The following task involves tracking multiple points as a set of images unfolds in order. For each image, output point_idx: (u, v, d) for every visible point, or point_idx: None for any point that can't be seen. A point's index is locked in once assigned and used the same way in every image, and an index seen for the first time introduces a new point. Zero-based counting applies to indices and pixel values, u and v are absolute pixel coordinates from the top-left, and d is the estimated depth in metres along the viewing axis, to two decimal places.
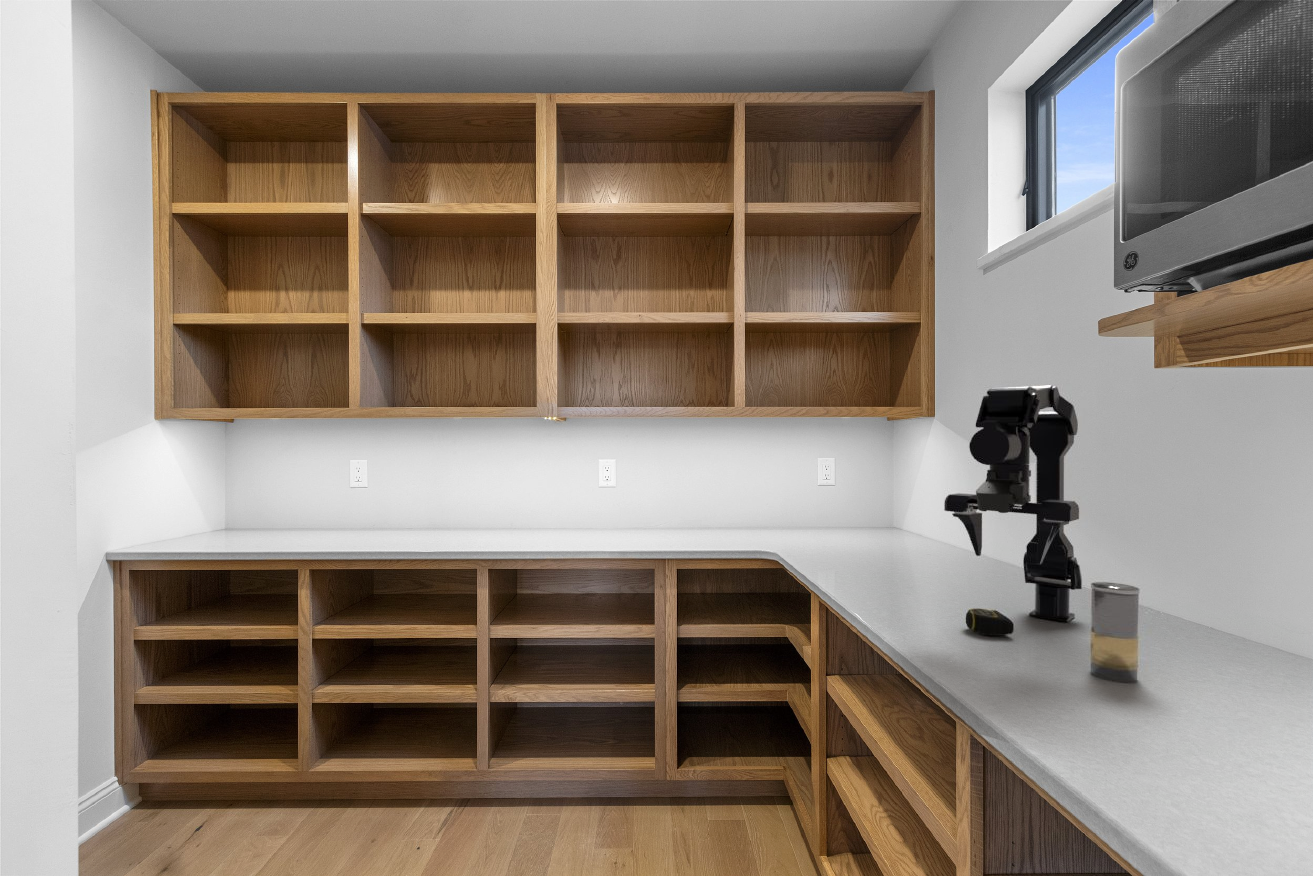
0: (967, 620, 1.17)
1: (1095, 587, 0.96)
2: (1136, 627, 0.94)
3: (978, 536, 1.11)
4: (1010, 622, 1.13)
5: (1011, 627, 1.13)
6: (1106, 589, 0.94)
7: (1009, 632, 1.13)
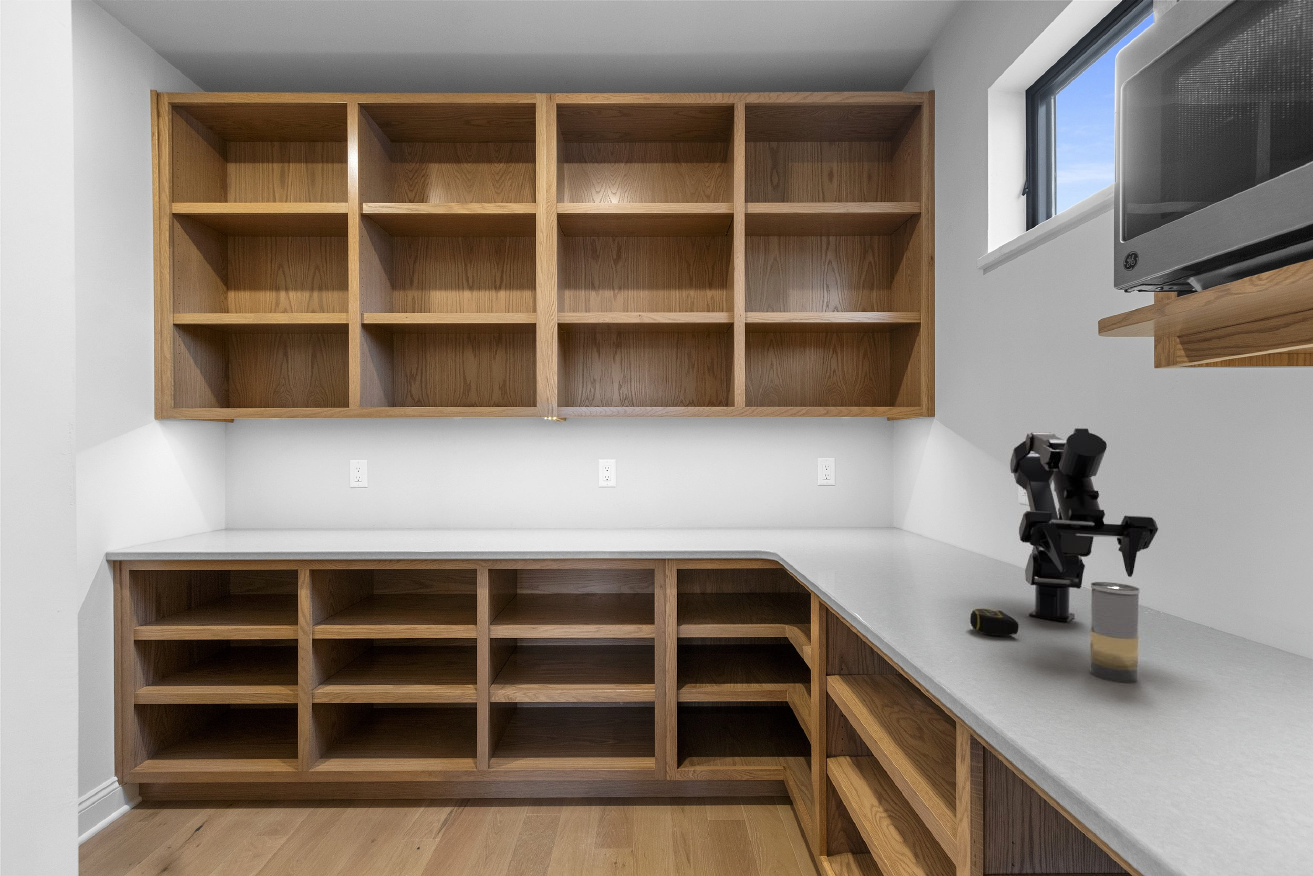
0: (972, 620, 1.17)
1: (1095, 587, 0.96)
2: (1136, 627, 0.94)
3: (1125, 558, 1.04)
4: (1015, 622, 1.13)
5: (1016, 627, 1.13)
6: (1106, 589, 0.94)
7: (1014, 632, 1.13)
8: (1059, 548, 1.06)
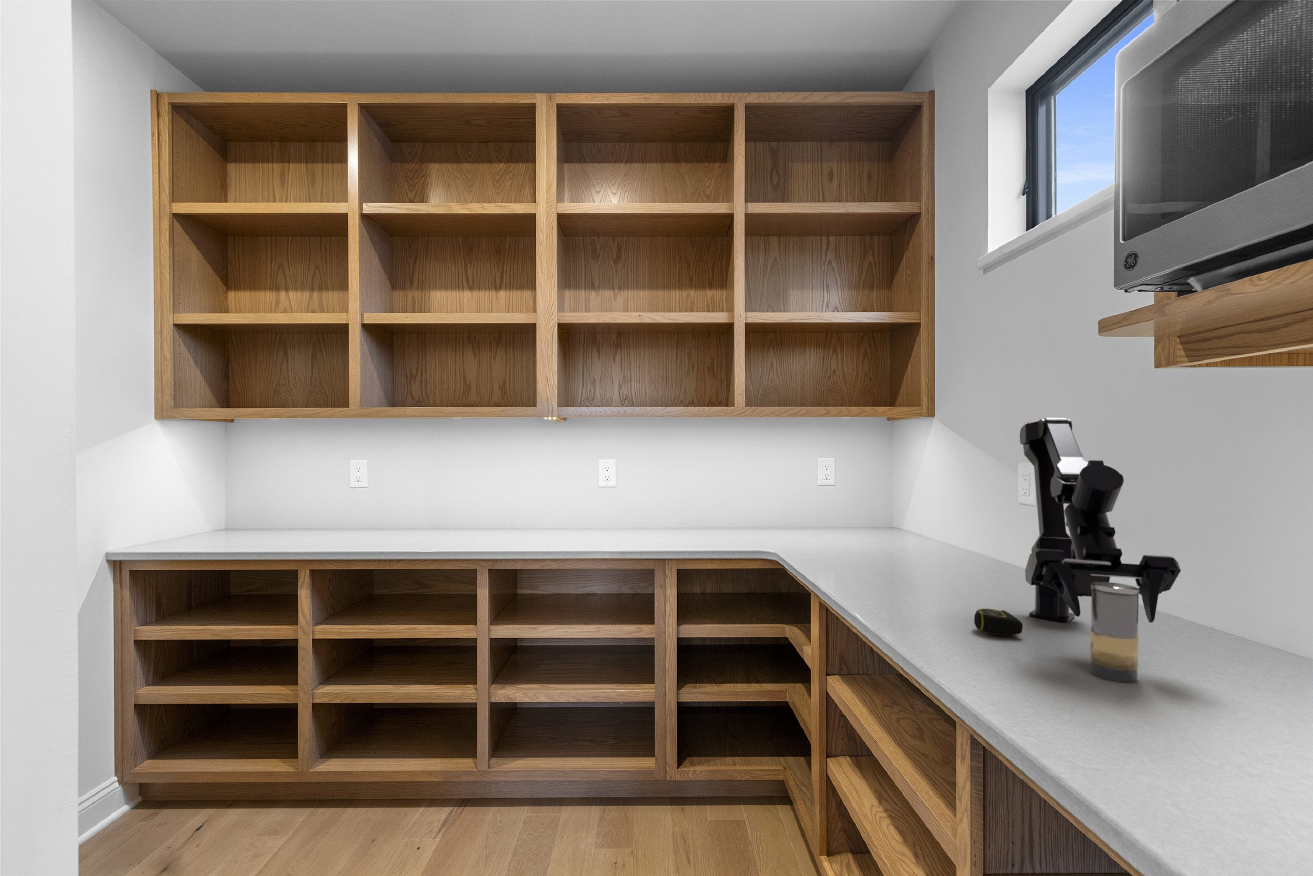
0: (976, 620, 1.17)
1: (1095, 587, 0.96)
2: (1136, 627, 0.94)
3: (1146, 601, 0.97)
4: (1019, 622, 1.13)
5: (1020, 627, 1.13)
6: (1106, 589, 0.94)
7: (1018, 632, 1.13)
8: (1073, 590, 0.98)
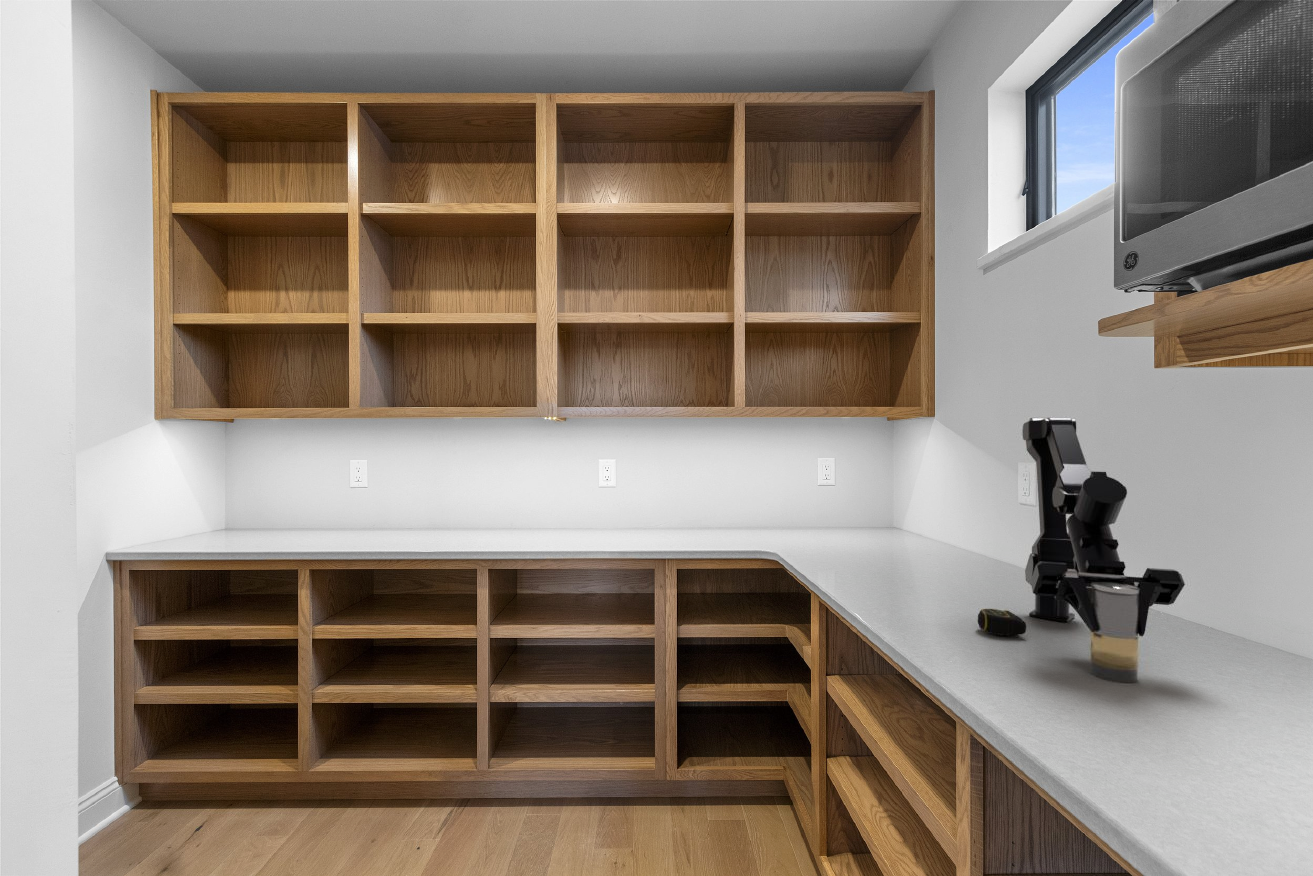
0: (979, 620, 1.17)
1: (1095, 587, 0.96)
2: (1136, 627, 0.94)
3: None
4: (1023, 622, 1.13)
5: (1024, 627, 1.13)
6: (1106, 589, 0.94)
7: (1022, 632, 1.13)
8: (1088, 605, 0.97)
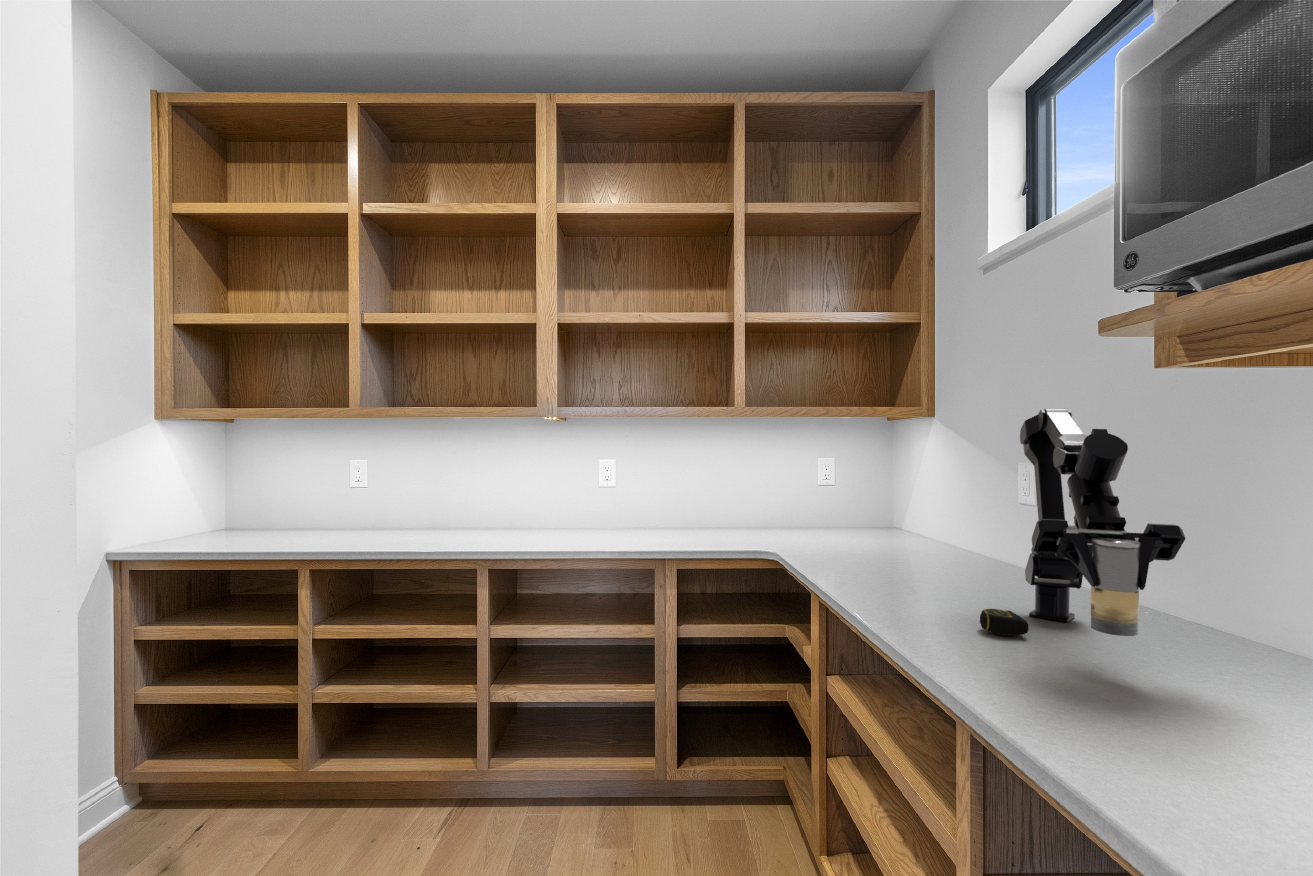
0: (981, 620, 1.17)
1: (1096, 542, 0.96)
2: (1137, 581, 0.94)
3: None
4: (1025, 622, 1.13)
5: (1026, 627, 1.13)
6: (1107, 543, 0.94)
7: (1024, 632, 1.13)
8: (1089, 560, 0.97)
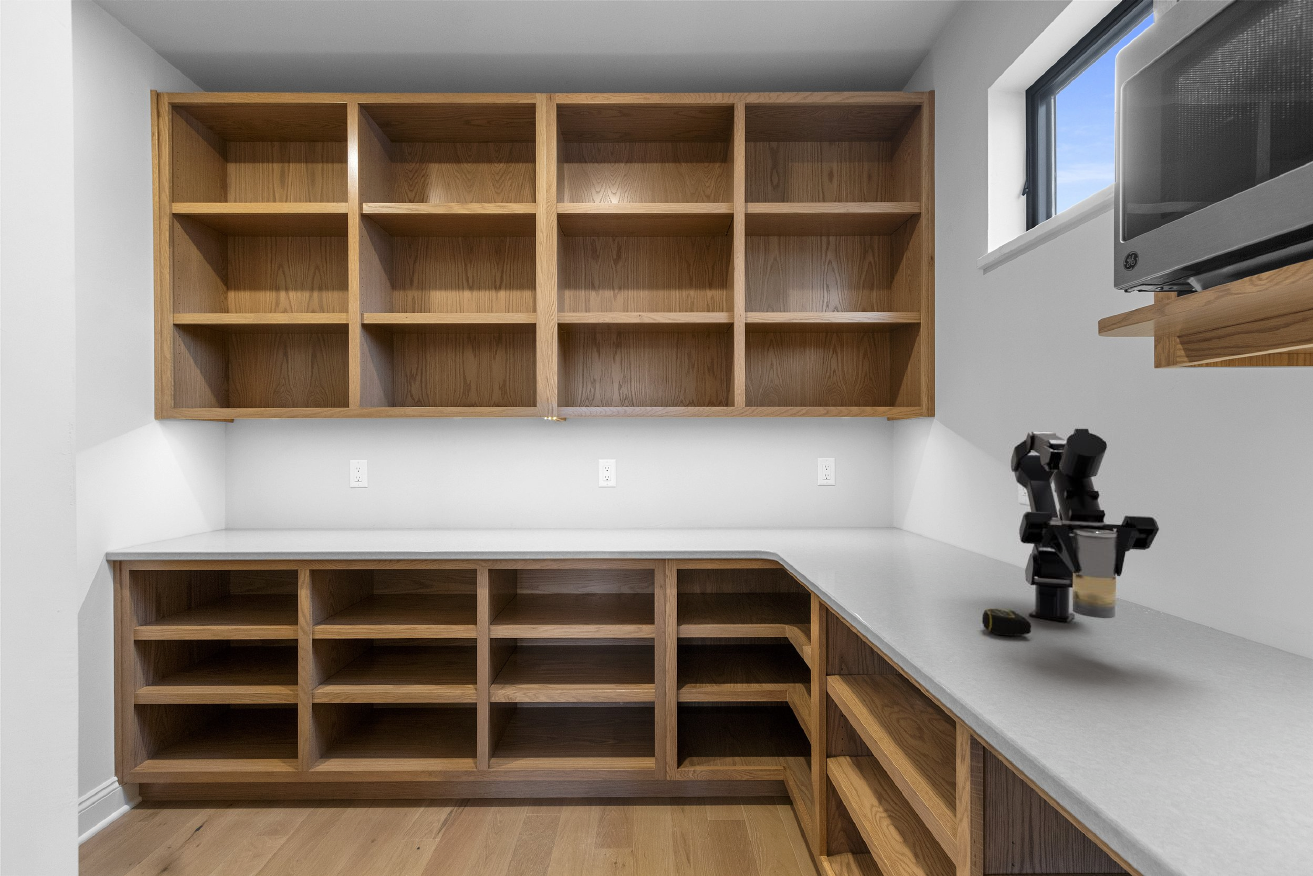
0: (984, 620, 1.17)
1: (1077, 532, 1.04)
2: (1114, 567, 1.02)
3: None
4: (1027, 622, 1.13)
5: (1029, 627, 1.13)
6: (1086, 533, 1.03)
7: (1027, 632, 1.13)
8: (1071, 549, 1.05)
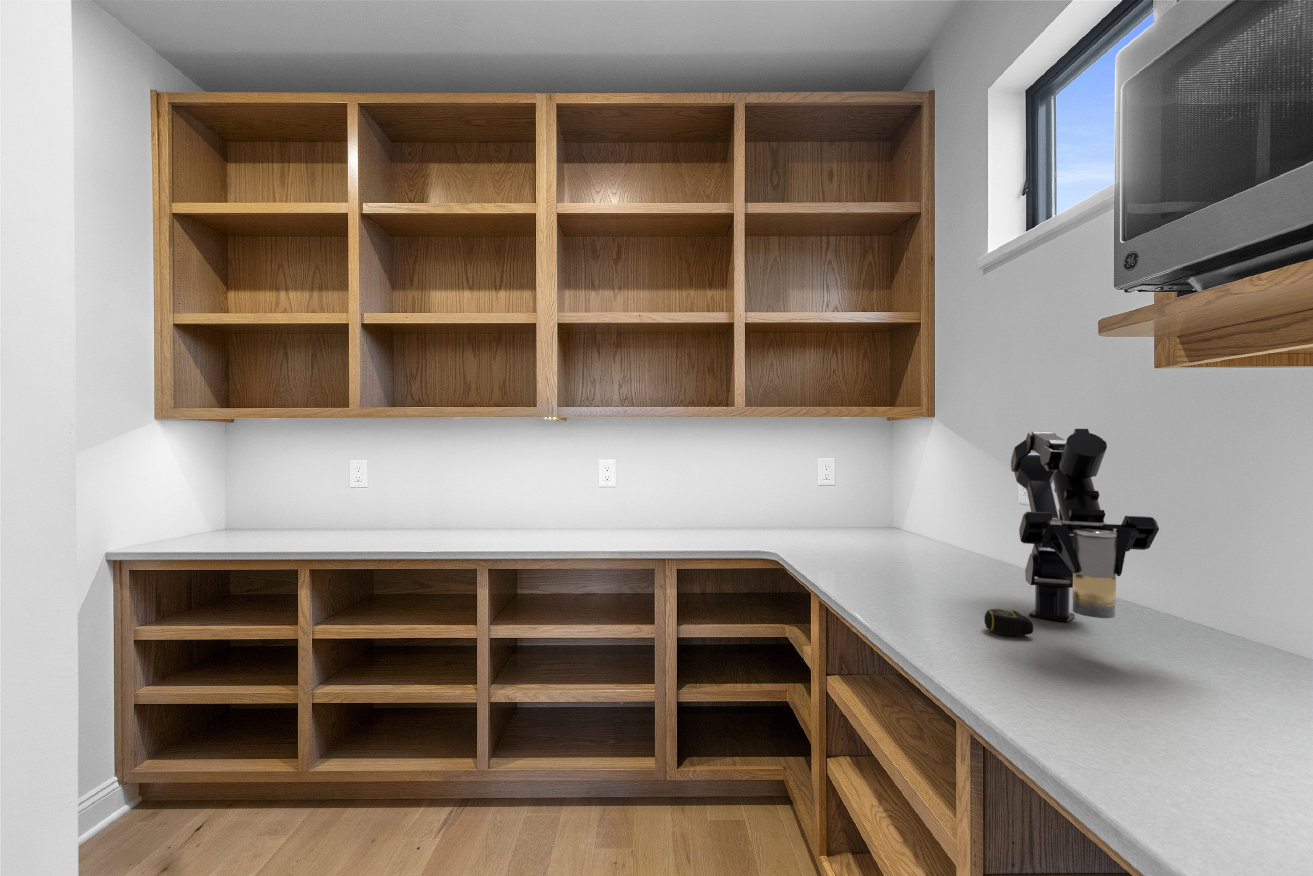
0: (986, 620, 1.17)
1: (1077, 532, 1.04)
2: (1114, 567, 1.02)
3: None
4: (1030, 622, 1.13)
5: (1031, 627, 1.13)
6: (1086, 533, 1.03)
7: (1029, 633, 1.13)
8: (1071, 549, 1.05)
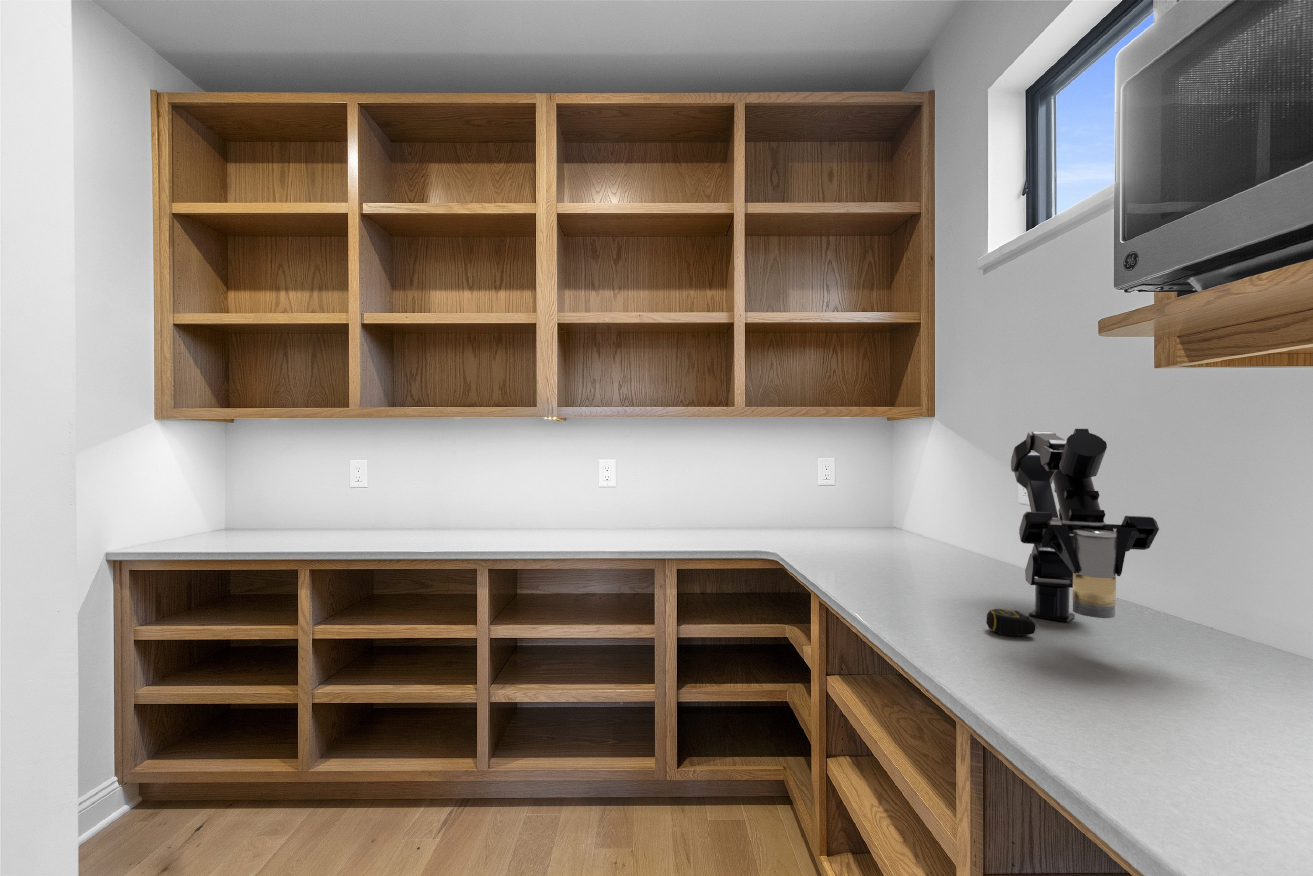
0: (988, 620, 1.17)
1: (1077, 532, 1.04)
2: (1114, 567, 1.02)
3: None
4: (1032, 622, 1.13)
5: (1033, 627, 1.13)
6: (1086, 533, 1.03)
7: (1031, 633, 1.13)
8: (1071, 549, 1.05)
